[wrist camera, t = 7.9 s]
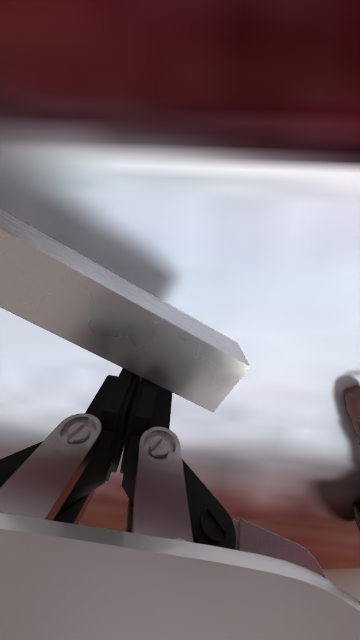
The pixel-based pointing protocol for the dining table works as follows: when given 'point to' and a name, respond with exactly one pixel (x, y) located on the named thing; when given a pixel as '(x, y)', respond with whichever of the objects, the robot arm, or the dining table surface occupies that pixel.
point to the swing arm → (113, 317)
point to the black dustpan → (356, 406)
